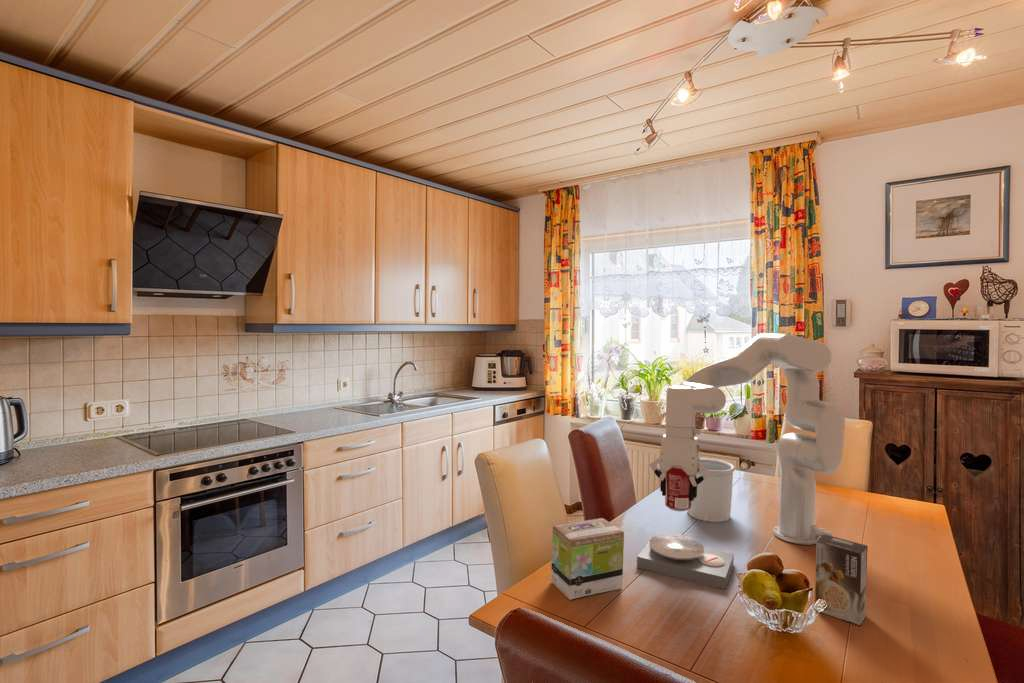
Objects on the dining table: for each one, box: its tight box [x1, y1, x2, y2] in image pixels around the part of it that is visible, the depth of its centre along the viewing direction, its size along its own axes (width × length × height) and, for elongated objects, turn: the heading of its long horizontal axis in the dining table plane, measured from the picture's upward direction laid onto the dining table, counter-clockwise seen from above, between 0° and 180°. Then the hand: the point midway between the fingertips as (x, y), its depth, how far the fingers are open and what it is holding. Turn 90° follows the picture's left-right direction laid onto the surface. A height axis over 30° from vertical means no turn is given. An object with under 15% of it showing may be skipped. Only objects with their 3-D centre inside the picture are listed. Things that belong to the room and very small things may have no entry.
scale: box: [636, 536, 735, 590], centre depth 141 cm, size 22×15×4 cm
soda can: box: [664, 466, 691, 512], centre depth 143 cm, size 7×7×12 cm
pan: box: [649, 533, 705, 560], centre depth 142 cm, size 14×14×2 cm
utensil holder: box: [686, 457, 735, 523], centre depth 177 cm, size 15×15×18 cm
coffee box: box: [814, 534, 868, 626], centre depth 119 cm, size 9×6×16 cm
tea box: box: [550, 517, 625, 601], centre depth 130 cm, size 15×10×15 cm
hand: (678, 496), depth 143 cm, fingers closed on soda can, 6 cm apart
